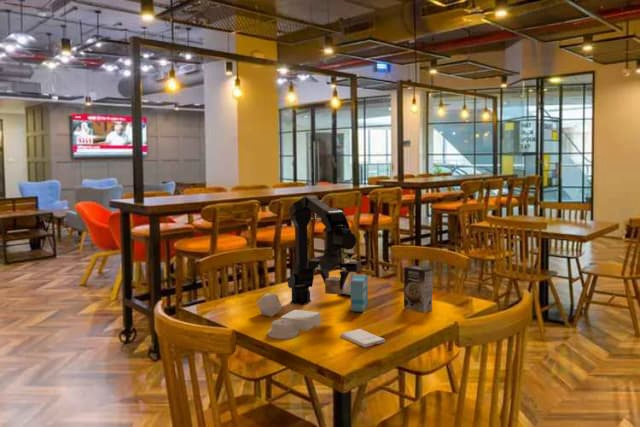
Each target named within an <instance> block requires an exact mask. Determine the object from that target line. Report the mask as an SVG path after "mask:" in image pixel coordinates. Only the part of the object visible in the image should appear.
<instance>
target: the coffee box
mask: <svg viewBox="0 0 640 427" xmlns="http://www.w3.org/2000/svg"><path fill="white" fill-rule="evenodd" d="M403 268H404V269H403V271H404V272H403V273H404V274H403V275H404V276H403V277H404V278H403V280H404V281H403V309H404V310H409V311H413V312H414V311H415V312H418V313H422V314H423V313H425V314H426V313H427V312H429V311H432V310H433V284H434V283H433V282H434V268H433V267H427V266H421V265H415V264H413V265H408V266H404V267H403Z"/></svg>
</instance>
